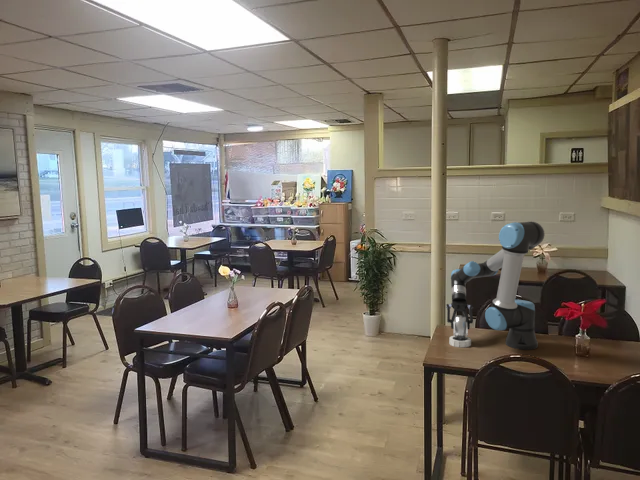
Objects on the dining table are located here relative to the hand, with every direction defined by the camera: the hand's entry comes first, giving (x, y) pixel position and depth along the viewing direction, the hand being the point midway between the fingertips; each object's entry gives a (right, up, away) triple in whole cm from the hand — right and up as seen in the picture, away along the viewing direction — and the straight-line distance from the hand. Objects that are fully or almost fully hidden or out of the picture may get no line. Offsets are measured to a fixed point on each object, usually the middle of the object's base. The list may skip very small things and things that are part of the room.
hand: (460, 334), depth 246 cm
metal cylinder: (+1, -3, +4) cm, 5 cm away
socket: (+1, -6, +4) cm, 7 cm away
